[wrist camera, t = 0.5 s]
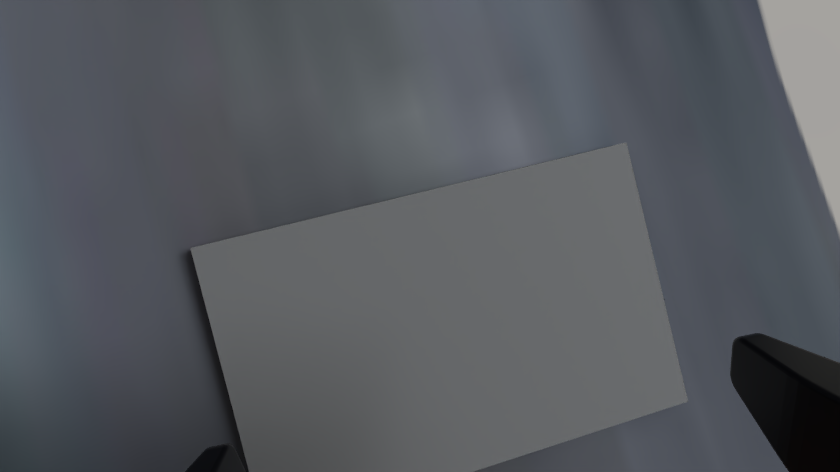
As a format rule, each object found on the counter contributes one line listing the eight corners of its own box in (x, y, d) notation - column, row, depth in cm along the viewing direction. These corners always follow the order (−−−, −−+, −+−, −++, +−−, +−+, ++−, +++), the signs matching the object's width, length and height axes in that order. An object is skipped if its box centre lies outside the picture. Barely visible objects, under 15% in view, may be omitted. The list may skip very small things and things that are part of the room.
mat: (674, 394, 24) (688, 401, 23) (270, 525, 22) (266, 538, 21) (614, 146, 24) (626, 142, 23) (197, 247, 21) (190, 248, 20)
